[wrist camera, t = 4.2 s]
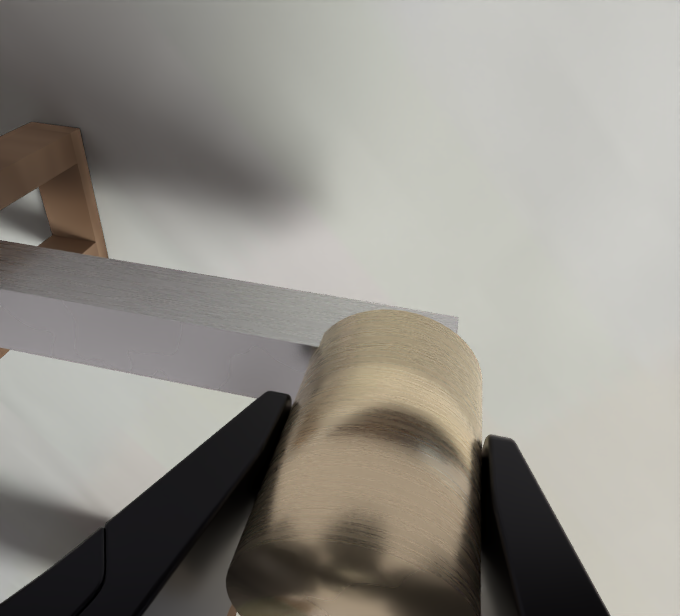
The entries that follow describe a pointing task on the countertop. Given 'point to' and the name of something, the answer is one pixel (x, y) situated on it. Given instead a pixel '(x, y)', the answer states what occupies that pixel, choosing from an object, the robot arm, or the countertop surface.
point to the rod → (296, 422)
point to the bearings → (53, 185)
